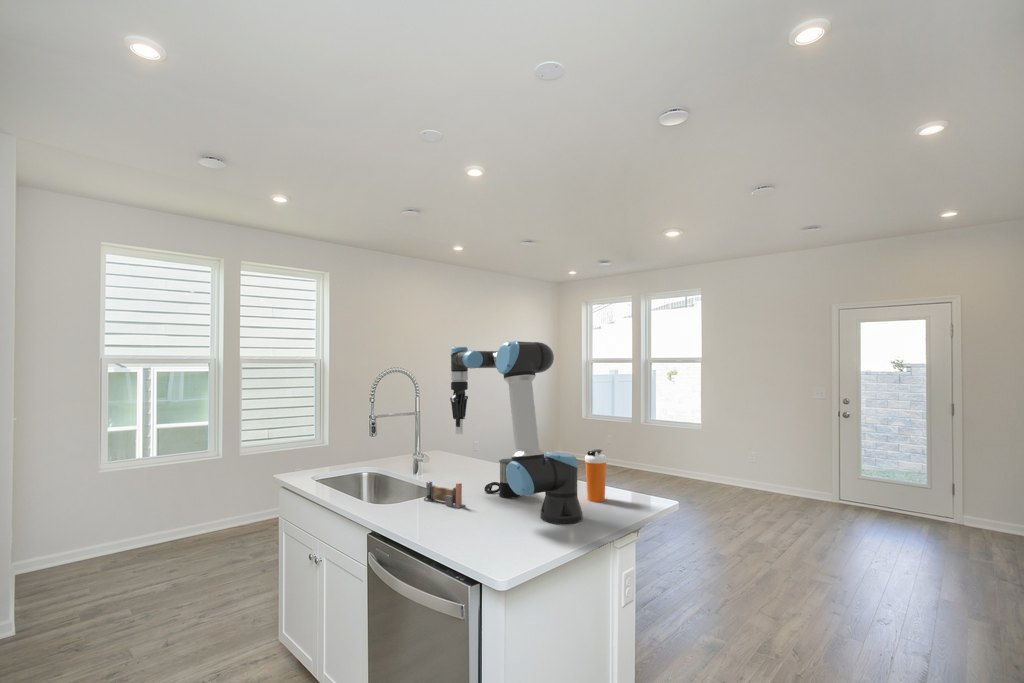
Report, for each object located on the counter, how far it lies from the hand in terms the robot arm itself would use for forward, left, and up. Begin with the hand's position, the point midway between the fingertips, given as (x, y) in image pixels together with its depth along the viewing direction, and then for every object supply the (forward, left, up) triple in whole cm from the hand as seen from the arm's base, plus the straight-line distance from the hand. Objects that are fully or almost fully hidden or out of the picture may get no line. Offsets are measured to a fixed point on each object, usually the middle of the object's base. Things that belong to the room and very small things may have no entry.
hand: (459, 433), depth 222 cm
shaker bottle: (-57, -21, -25) cm, 66 cm away
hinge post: (-2, +20, -24) cm, 32 cm away
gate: (-11, +20, -24) cm, 32 cm away
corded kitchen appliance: (-21, -5, -25) cm, 33 cm away
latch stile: (-17, +20, -24) cm, 36 cm away
